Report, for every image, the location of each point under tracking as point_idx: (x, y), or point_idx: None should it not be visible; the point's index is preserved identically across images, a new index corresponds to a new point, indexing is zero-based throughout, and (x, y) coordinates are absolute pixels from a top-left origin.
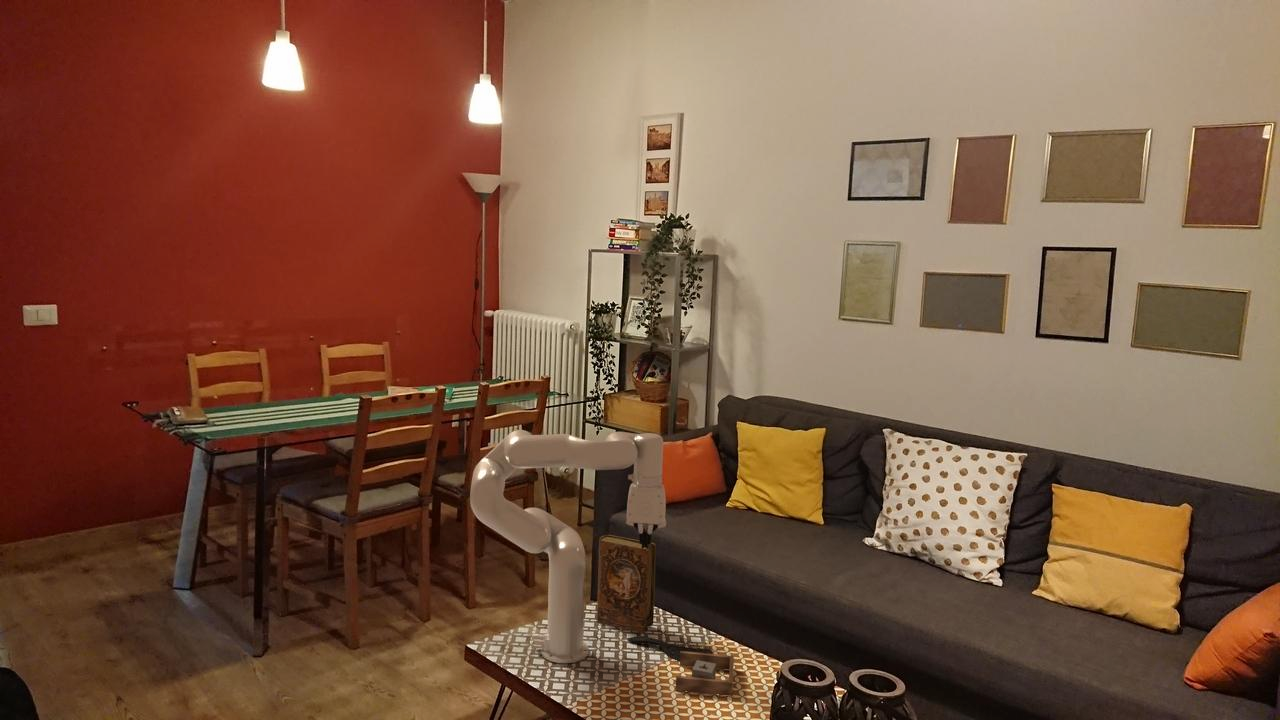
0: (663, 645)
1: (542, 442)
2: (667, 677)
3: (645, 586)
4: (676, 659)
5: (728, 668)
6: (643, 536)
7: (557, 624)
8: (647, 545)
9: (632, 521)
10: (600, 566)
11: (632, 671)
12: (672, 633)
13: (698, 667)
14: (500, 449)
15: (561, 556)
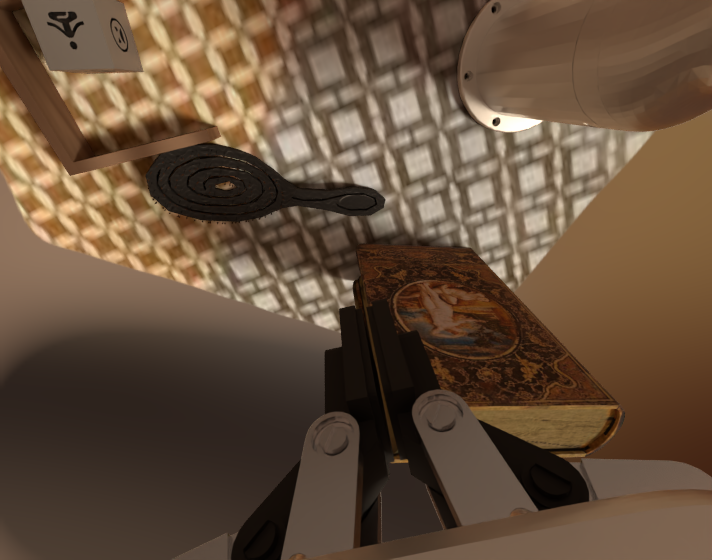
0: (286, 190)
1: None
2: (213, 40)
3: None
4: (236, 150)
5: (95, 156)
6: (392, 370)
7: None
8: (341, 322)
9: (708, 518)
10: (546, 330)
11: (314, 33)
12: (301, 270)
13: (79, 13)
14: None
15: None
